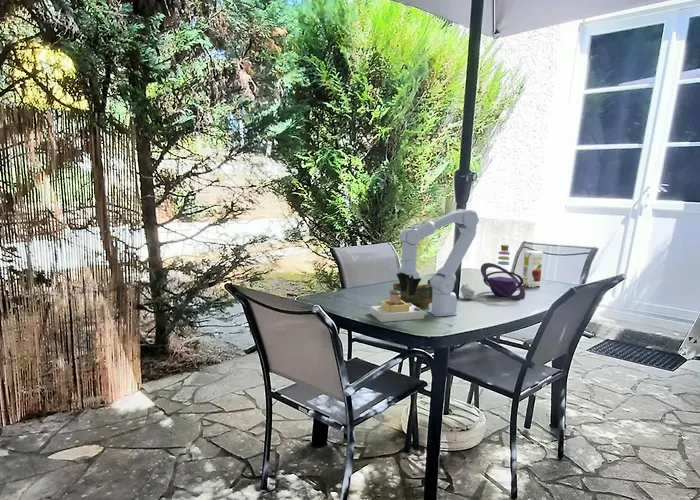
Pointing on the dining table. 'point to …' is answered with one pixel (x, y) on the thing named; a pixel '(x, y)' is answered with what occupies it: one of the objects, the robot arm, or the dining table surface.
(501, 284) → the decorative bottle
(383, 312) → the tray with yellow box
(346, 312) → the dining table surface
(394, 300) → the copper can
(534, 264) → the juice carton
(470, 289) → the white bumpy ball
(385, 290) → the dining table surface
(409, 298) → the green brown bowl
